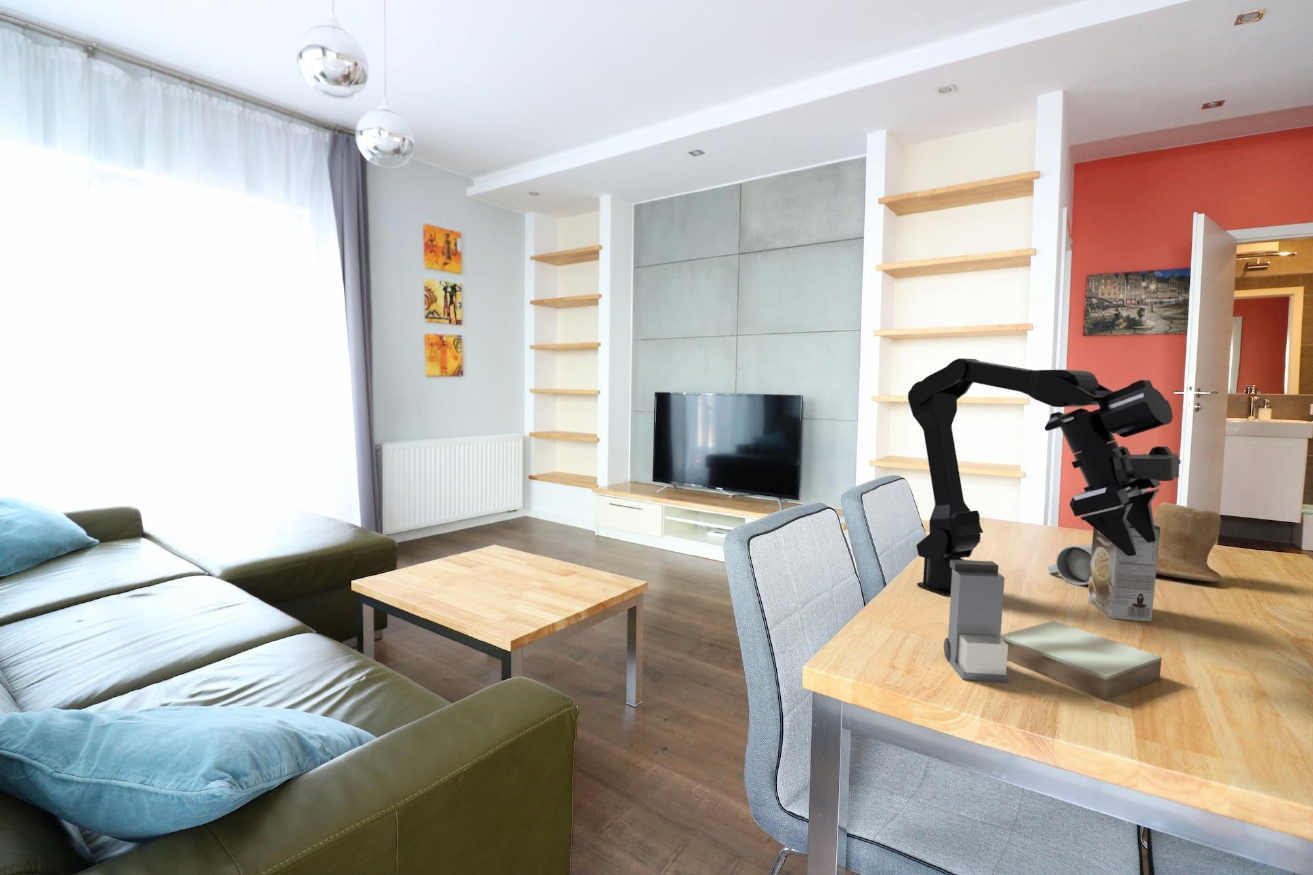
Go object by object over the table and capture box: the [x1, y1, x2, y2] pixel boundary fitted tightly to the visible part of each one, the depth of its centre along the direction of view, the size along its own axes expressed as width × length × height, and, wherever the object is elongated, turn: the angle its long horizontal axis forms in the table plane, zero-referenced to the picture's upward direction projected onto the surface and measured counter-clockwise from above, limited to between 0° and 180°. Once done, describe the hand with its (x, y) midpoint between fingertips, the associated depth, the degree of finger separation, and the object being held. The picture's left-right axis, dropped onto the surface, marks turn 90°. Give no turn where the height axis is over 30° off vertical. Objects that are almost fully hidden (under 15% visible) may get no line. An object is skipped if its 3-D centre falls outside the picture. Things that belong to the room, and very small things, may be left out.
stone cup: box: [1153, 502, 1222, 583], centre depth 130 cm, size 15×12×15 cm
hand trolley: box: [943, 559, 1009, 683], centre depth 85 cm, size 8×6×14 cm
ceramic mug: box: [1047, 544, 1092, 586], centre depth 126 cm, size 11×8×8 cm
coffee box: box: [1087, 522, 1161, 622], centre depth 108 cm, size 9×6×16 cm
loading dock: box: [1000, 620, 1163, 701], centre depth 86 cm, size 14×13×3 cm
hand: (1142, 548), depth 91 cm, fingers open, 9 cm apart
